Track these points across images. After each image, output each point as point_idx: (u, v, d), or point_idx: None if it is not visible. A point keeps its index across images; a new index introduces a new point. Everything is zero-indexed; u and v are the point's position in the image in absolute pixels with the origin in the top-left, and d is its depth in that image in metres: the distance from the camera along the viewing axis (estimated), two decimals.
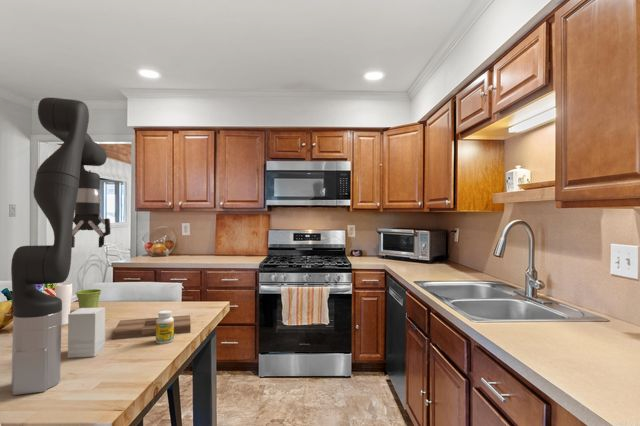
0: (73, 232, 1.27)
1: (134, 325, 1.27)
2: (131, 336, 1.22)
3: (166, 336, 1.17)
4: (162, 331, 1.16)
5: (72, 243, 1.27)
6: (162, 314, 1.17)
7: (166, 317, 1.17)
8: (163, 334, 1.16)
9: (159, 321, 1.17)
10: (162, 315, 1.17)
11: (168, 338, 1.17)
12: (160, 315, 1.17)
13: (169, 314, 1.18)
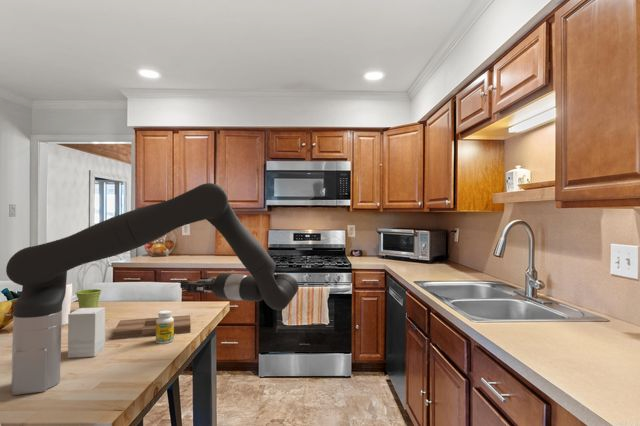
0: None
1: (134, 325, 1.27)
2: (131, 336, 1.22)
3: (166, 336, 1.17)
4: (162, 331, 1.16)
5: (204, 277, 1.18)
6: (162, 314, 1.17)
7: (166, 317, 1.17)
8: (163, 334, 1.16)
9: (159, 321, 1.17)
10: (162, 315, 1.17)
11: (168, 338, 1.17)
12: (160, 315, 1.17)
13: (169, 314, 1.18)
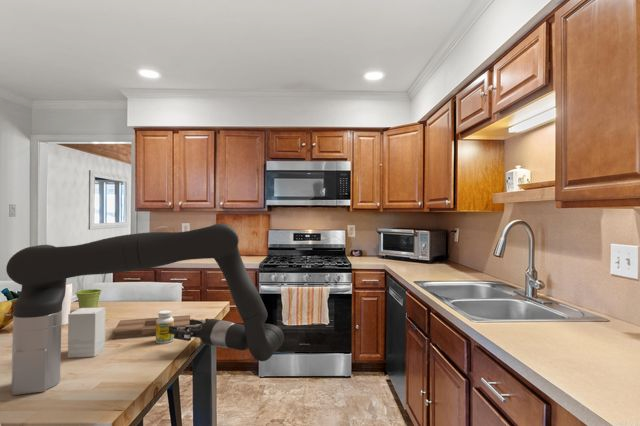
0: (201, 321, 1.17)
1: (134, 325, 1.27)
2: (131, 336, 1.22)
3: (166, 336, 1.17)
4: (162, 331, 1.16)
5: (193, 320, 1.19)
6: (162, 314, 1.17)
7: (166, 317, 1.17)
8: (163, 334, 1.16)
9: (159, 321, 1.17)
10: (162, 315, 1.17)
11: (168, 338, 1.17)
12: (160, 315, 1.17)
13: (169, 314, 1.18)
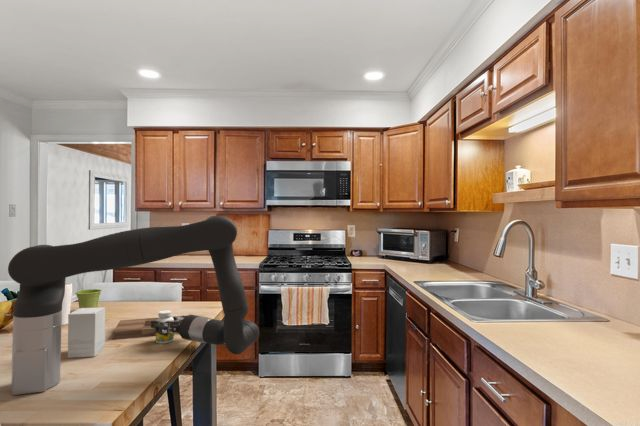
0: (177, 318, 1.20)
1: (134, 325, 1.27)
2: (131, 336, 1.22)
3: (166, 336, 1.17)
4: None
5: None
6: (162, 314, 1.17)
7: (166, 317, 1.17)
8: None
9: None
10: (162, 315, 1.17)
11: (168, 338, 1.17)
12: (160, 315, 1.17)
13: (169, 314, 1.18)
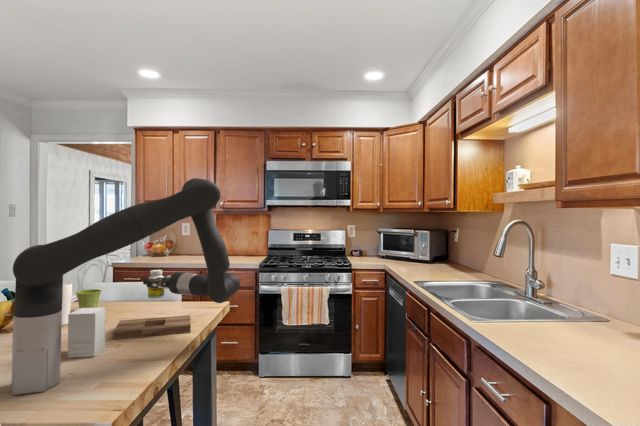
0: (167, 276, 1.32)
1: (134, 325, 1.27)
2: (131, 336, 1.22)
3: (157, 292, 1.28)
4: None
5: None
6: (153, 272, 1.29)
7: (157, 275, 1.29)
8: (154, 290, 1.28)
9: None
10: (153, 273, 1.29)
11: (159, 293, 1.29)
12: (151, 273, 1.29)
13: (160, 272, 1.30)
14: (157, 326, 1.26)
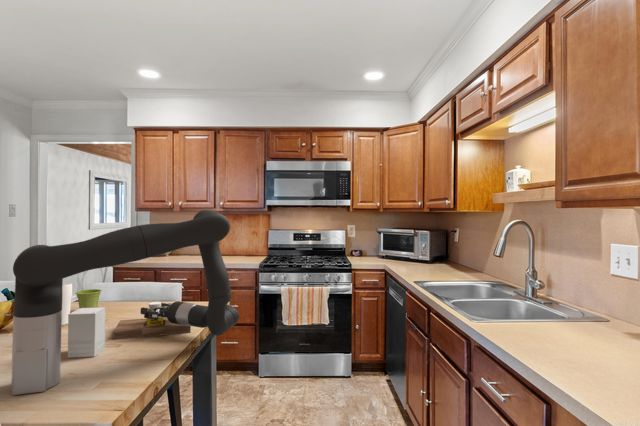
0: (169, 304, 1.32)
1: (134, 325, 1.27)
2: (131, 336, 1.22)
3: None
4: (152, 321, 1.28)
5: (162, 303, 1.34)
6: (152, 305, 1.28)
7: None
8: (153, 323, 1.28)
9: None
10: (152, 306, 1.28)
11: None
12: (150, 306, 1.29)
13: (159, 305, 1.30)
14: (157, 326, 1.26)
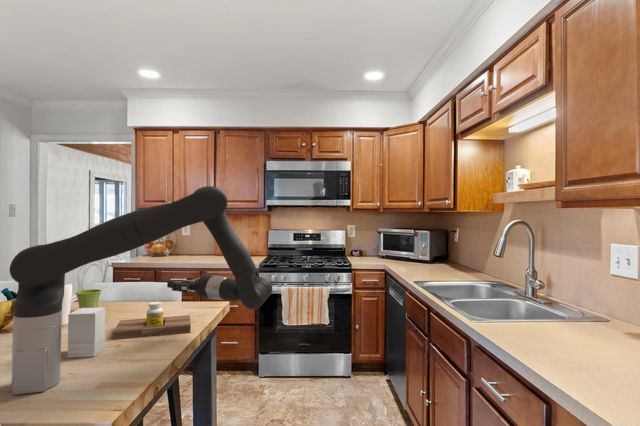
0: None
1: (134, 325, 1.27)
2: (131, 336, 1.22)
3: None
4: (152, 320, 1.28)
5: (189, 278, 1.29)
6: (152, 305, 1.29)
7: (156, 308, 1.29)
8: (153, 323, 1.28)
9: (149, 311, 1.28)
10: (152, 306, 1.28)
11: None
12: (150, 306, 1.29)
13: (158, 305, 1.30)
14: (157, 326, 1.26)
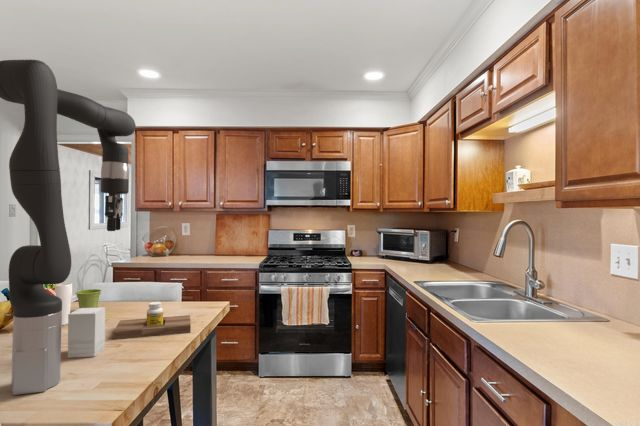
0: None
1: (134, 325, 1.27)
2: (131, 336, 1.22)
3: None
4: (152, 321, 1.28)
5: None
6: (152, 305, 1.28)
7: (156, 308, 1.29)
8: (153, 323, 1.28)
9: (149, 311, 1.28)
10: (152, 306, 1.28)
11: None
12: (150, 306, 1.29)
13: (158, 305, 1.30)
14: (157, 326, 1.26)
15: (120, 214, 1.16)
